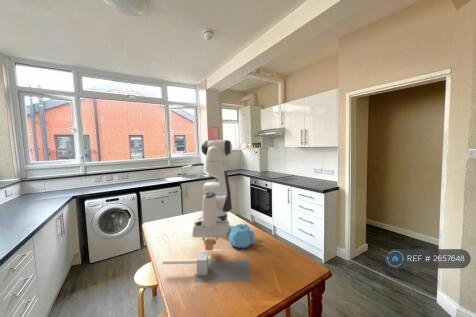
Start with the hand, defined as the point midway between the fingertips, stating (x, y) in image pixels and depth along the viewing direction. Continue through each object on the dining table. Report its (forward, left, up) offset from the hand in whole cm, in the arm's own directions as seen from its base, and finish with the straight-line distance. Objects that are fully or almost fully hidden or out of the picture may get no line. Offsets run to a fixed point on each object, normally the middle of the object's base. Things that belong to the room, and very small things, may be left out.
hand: (210, 243), depth 113 cm
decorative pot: (-14, +19, -8) cm, 25 cm away
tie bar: (+15, -10, -2) cm, 18 cm away
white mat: (-1, 0, -8) cm, 8 cm away
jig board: (+15, +8, -8) cm, 19 cm away
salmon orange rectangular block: (0, 0, -1) cm, 1 cm away
